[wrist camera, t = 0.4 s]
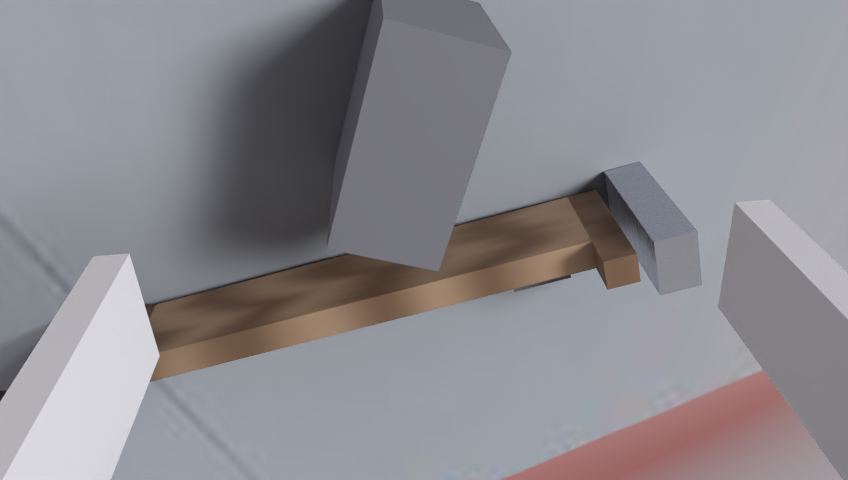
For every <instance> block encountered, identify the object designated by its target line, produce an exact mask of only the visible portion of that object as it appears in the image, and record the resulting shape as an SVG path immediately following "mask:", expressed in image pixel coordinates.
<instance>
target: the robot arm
mask: <svg viewBox="0 0 848 480" xmlns="http://www.w3.org/2000/svg"><path fill="white" fill-rule="evenodd" d="M718 307H719V309H720V310H721V312H722V313H723V314H724V316H725V317H726V318H727V320H728V321H729V323H730V324H731V325H732V327H733V328H734V330H735V331H736V332H737V334H738V335H739V336H740V338H741V339H742V341H743V342H744V343H745V345H746V346H747V348H748V349H749V350H750V352H751V353H752V354H753V356H754V357H755V359H756V360H757V361H758V363H759V364H760V366H761V367H762V368H763V370H764V371H765V372H766V374H767V375H768V377H769V378H770V379H771V381H772V382H773V384H774V385H775V386H776V388H777V389H778V390H779V392H780V393H781V395H782V396H783V397H784V399H785V400H786V402H787V403H788V404H789V406H790V407H791V408H792V410H793V411H794V413H795V414H796V415H797V417H798V418H799V419H800V421H801V422H802V424H803V425H804V426H805V428H806V429H807V431H808V432H809V433H810V435H811V436H812V437H813V439H814V440H815V441H816V443H817V444H818V446H819V447H820V449H821V450H822V451H823V453H824V454H825V455H826V457H827V458H828V460H829V461H830V462H831V464H832V465H833V467H834V468H835V469H836V471H837V472H838V473H839V475H840V476H841V478H842V479H843V480H848V273H847V272H846V271H845V270H844V269H843V268H842V267H841V266H840V265H839V264H838V263H837V262H835V261H834V260H833V259H832V258H831V257H830V256H829V255H828V254H827V253H826V252H825V251H824V250H823V249H822V248H821V247H819V246H818V245H817V244H816V243H815V242H814V241H813V240H812V239H811V238H810V237H809V236H808V235H807V234H806V233H805V232H803V231H802V230H801V229H800V228H799V227H798V226H797V225H796V224H795V223H794V222H793V221H792V220H791V219H790V218H789V217H787V216H786V215H785V214H784V213H783V212H782V211H781V210H780V209H779V208H778V207H777V206H776V205H775V204H774V203H773V202H771V201H770V200H758V201H747V202H735V205H734V211H733V217H732V223H731V230H730V236H729V242H728V248H727V255H726V261H725V267H724V273H723V279H722V286H721V292H720V298H719V304H718ZM159 356H160V355H159V352H158V348H157V345H156V342H155V338H154V335H153V332H152V328H151V325H150V321H149V318H148V315H147V311H146V308H145V304H144V301H143V298H142V294H141V291H140V288H139V284H138V281H137V277H136V274H135V271H134V267H133V264H132V261H131V257H130V254H129V253H128V254H116V255H104V256H93V258H92V259H91V261H90V262H89V264H88V265H87V267H86V269H85V270H84V272H83V273H82V275H81V276H80V278H79V279H78V281H77V283H76V284H75V286H74V287H73V289H72V290H71V292H70V294H69V295H68V297H67V298H66V300H65V301H64V303H63V304H62V306H61V308H60V309H59V311H58V312H57V314H56V315H55V317H54V318H53V320H52V322H51V323H50V325H49V326H48V328H47V329H46V331H45V333H44V334H43V336H42V337H41V339H40V340H39V342H38V343H37V345H36V347H35V348H34V350H33V351H32V353H31V354H30V356H29V357H28V359H27V361H26V362H25V364H24V365H23V367H22V368H21V370H20V371H19V373H18V375H17V376H16V378H15V379H14V381H13V382H12V384H11V386H10V387H9V389H8V390H7V391H0V480H111V477H112V475H113V472H114V470H115V467H116V465H117V462H118V460H119V457H120V455H121V452H122V450H123V447H124V445H125V442H126V440H127V437H128V435H129V432H130V430H131V427H132V424H133V422H134V419H135V417H136V414H137V412H138V409H139V407H140V404H141V402H142V399H143V397H144V394H145V392H146V389H147V387H148V384H149V382H150V379H151V376H152V374H153V371H154V369H155V366H156V364H157V361H158V359H159Z"/></svg>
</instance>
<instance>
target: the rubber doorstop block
mask: <svg viewBox="0 0 848 480" xmlns="http://www.w3.org/2000/svg"><path fill="white" fill-rule="evenodd" d="M510 55H511V50H510V49H509V47H508V46H507V44H506V43H505V41H504V40H503V38H502V37H501V35H500V34H499V32H498V31H497V29H496V28H495V26H494V25H493V23H492V22H491V20H490V19H489V17H488V16H487V14H486V13H485V11H484V10H483V8H482V7H481V5H480V4H479V3H477V2H473V1H470V0H373V2H372V6H371V10H370V15H369V19H368V23H367V27H366V31H365V36H364V40H363V44H362V48H361V53H360V57H359V61H358V65H357V69H356V74H355V78H354V82H353V86H352V91H351V95H350V99H349V103H348V107H347V112H346V116H345V120H344V124H343V128H342V133H341V137H340V141H339V145H338V150H337V154H336V158H335V162H334V168H333V180H332V191H331V203H330V215H329V227H328V239H327V249H329V250H334V251H339V252H344V253H349V254H354V255H359V256H364V257H369V258H374V259H379V260H384V261H389V262H394V263H399V264H404V265H409V266H414V267H419V268H424V269H429V270H434V271H439V269H440V266H441V263H442V260H443V257H444V254H445V251H446V248H447V245H448V242H449V239H450V236H451V233H452V230H453V227H454V224H455V221H456V218H457V215H458V212H459V209H460V206H461V203H462V200H463V197H464V194H465V191H466V188H467V185H468V182H469V179H470V176H471V173H472V170H473V167H474V164H475V161H476V158H477V155H478V152H479V149H480V146H481V143H482V140H483V137H484V134H485V131H486V127H487V124H488V121H489V118H490V115H491V112H492V109H493V106H494V103H495V100H496V97H497V94H498V91H499V88H500V85H501V82H502V79H503V76H504V73H505V70H506V67H507V64H508V61H509V58H510Z"/></svg>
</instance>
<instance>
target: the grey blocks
mask: <svg viewBox="0 0 848 480" xmlns="http://www.w3.org/2000/svg"><path fill="white" fill-rule="evenodd" d="M604 174H605V180H606V187H607V194H608V201H609V207H610V212H611V214H612V215H613V217H614V219H615V220H616V222H617V223H618V225H619V226H620V228H621V229H622V231H623V233H624V234H625V236H626V237H627V239H628V240H629V242H630V243H631V245H632V247H633V248H634V250H635V251H636V253H637V258H638V261H639V263H640V264H641V266H642V267H643V269H644V271H645V272H646V274H647V275H648V277H649V278H650V280H651V282H652V283H653V285H654V286H655V288H656V289H657V291H658V293H659V294H660V295H663V294H667V293H671V292H675V291H679V290H683V289H687V288H691V287H695V286H699V285H702V281H701V269H700V257H699V245H698V233H697V230H696V229H695V228H694V227H693V225H692V224H691V223H690V222H689V221H688V219H687V218H686V217H685V216H684V215H683V213H682V212H681V211H680V210H679V208H678V207H677V206H676V205H675V204H674V202H673V201H672V200H671V199H670V198H669V196H668V195H667V194H666V193H665V192H664V190H663V189H662V188H661V187H660V185H659V184H658V183H657V182H656V181H655V179H654V178H653V177H652V176H651V175H650V173H649V172H648V171H647V170H646V169H645V167H644V166H643V165H642V164H641V163H640V162H638V163H634V164H630V165H626V166H622V167H619V168H615V169H611V170H607V171H604Z"/></svg>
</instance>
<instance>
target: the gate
mask: <svg viewBox="0 0 848 480" xmlns="http://www.w3.org/2000/svg"><path fill="white" fill-rule="evenodd" d="M594 268H597V270H598V272H599V274H600V276H601V278H602V280H603V282H604V284H605V285H606V287H607V289H612V288H616V287H620V286H624V285H628V284H632V283H636V282H640V281H641V280H640V273H639V265H638V258H637V253H636V251H635V250H634V248H633V247H632V245H631V243H630V242H629V240H628V239H627V237H626V236H625V234H624V233H623V231H622V229H621V228H620V226H619V225H618V223H617V222H616V220H615V219H614V217H613V215H612V214H611V212H610V211H609V209H608V208H607V206H606V205H605V203H604V201H603V200H602V198H601V197H600V195H599V194H598V192H597V191H596V190H592V191H588V192H585V193H581V194H577V195H573V196H569V197H565V198H562V199H558V200H554V201H550V202H546V203H542V204H539V205H535V206H531V207H527V208H523V209H520V210H516V211H512V212H508V213H504V214H500V215H497V216H493V217H489V218H485V219H481V220H477V221H474V222H470V223H466V224H462V225H458V226H455V227H453V230H452V233H451V236H450V239H449V242H448V245H447V248H446V251H445V254H444V257H443V260H442V263H441V266H440V269H439V271H434V270H429V269H424V268H419V267H414V266H409V265H404V264H399V263H394V262H389V261H384V260H379V259H374V258H369V257H364V256H359V255H354V254H347V255H344V256H340V257H336V258H332V259H328V260H324V261H321V262H317V263H313V264H309V265H305V266H301V267H298V268H294V269H290V270H286V271H282V272H279V273H275V274H271V275H267V276H263V277H259V278H256V279H252V280H248V281H244V282H240V283H236V284H233V285H229V286H225V287H221V288H217V289H214V290H210V291H206V292H202V293H198V294H194V295H191V296H187V297H183V298H179V299H175V300H171V301H168V302H164V303H160V304H156V305H155V306H154V305H149V304H145V308H146V311H147V315H148V318H149V321H150V325H151V328H152V332H153V335H154V338H155V342H156V345H157V348H158V352H159V355H160V356H159V359H158V361H157V364H156V366H155V369H154V371H153V374H152V376H151V379H150V382H151V381H155V380H159V379H163V378H167V377H170V376H174V375H178V374H182V373H186V372H190V371H194V370H198V369H202V368H206V367H210V366H214V365H218V364H221V363H225V362H229V361H233V360H237V359H241V358H245V357H249V356H253V355H257V354H261V353H265V352H269V351H272V350H276V349H280V348H284V347H288V346H292V345H296V344H300V343H304V342H308V341H312V340H316V339H320V338H323V337H327V336H331V335H335V334H339V333H343V332H347V331H351V330H355V329H359V328H363V327H367V326H370V325H374V324H378V323H382V322H386V321H390V320H394V319H398V318H402V317H406V316H410V315H414V314H418V313H421V312H425V311H429V310H433V309H437V308H441V307H445V306H449V305H453V304H457V303H461V302H465V301H469V300H472V299H476V298H480V297H484V296H488V295H492V294H496V293H500V292H504V291H508V290H512V289H514V292H516V291H519V290H523V289H527V288H531V287H535V286H539V285H543V284H547V283H551V282H555V281H559V280H563V279H567V278H571V274H574V273H578V272H582V271H586V270H590V269H594Z"/></svg>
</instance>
